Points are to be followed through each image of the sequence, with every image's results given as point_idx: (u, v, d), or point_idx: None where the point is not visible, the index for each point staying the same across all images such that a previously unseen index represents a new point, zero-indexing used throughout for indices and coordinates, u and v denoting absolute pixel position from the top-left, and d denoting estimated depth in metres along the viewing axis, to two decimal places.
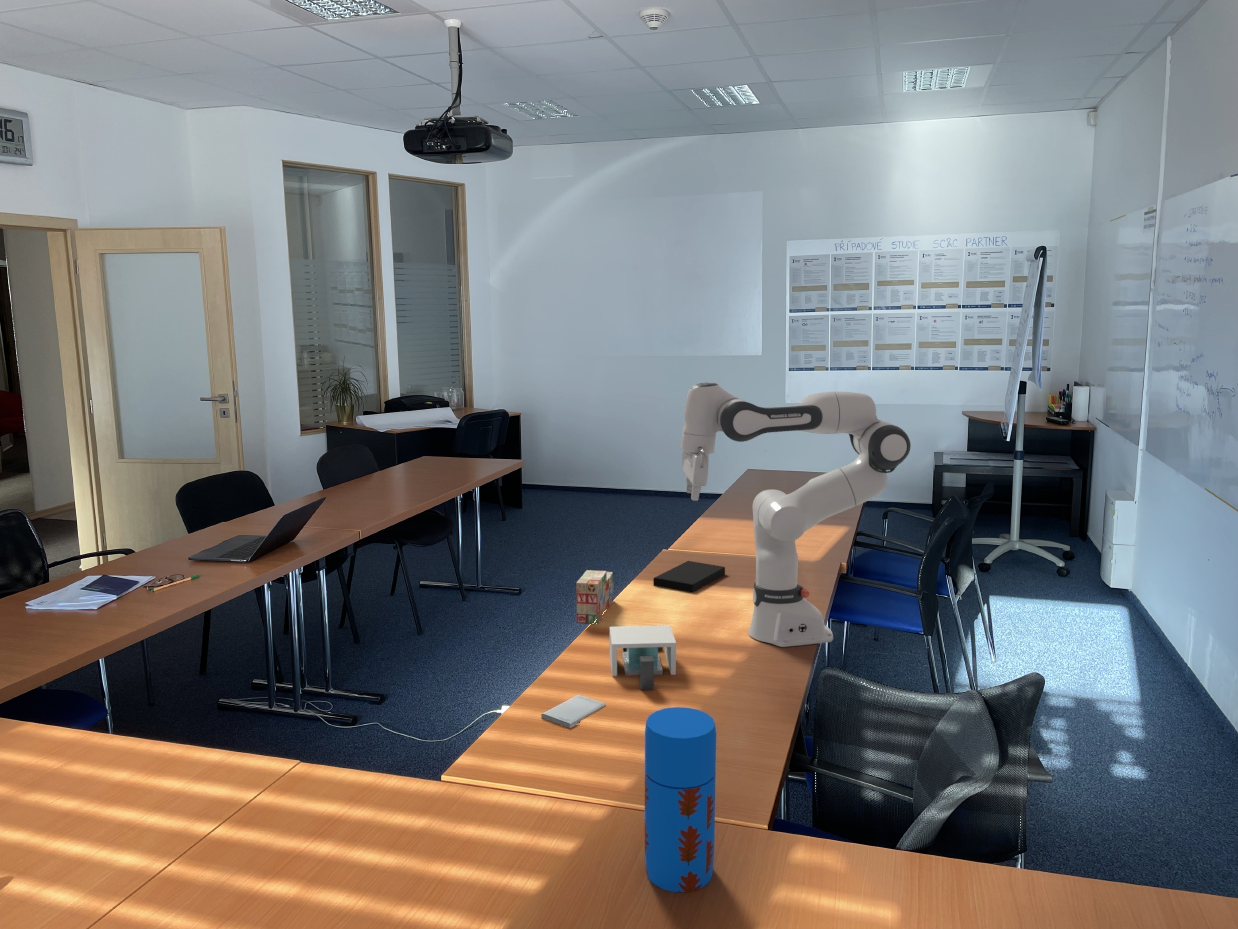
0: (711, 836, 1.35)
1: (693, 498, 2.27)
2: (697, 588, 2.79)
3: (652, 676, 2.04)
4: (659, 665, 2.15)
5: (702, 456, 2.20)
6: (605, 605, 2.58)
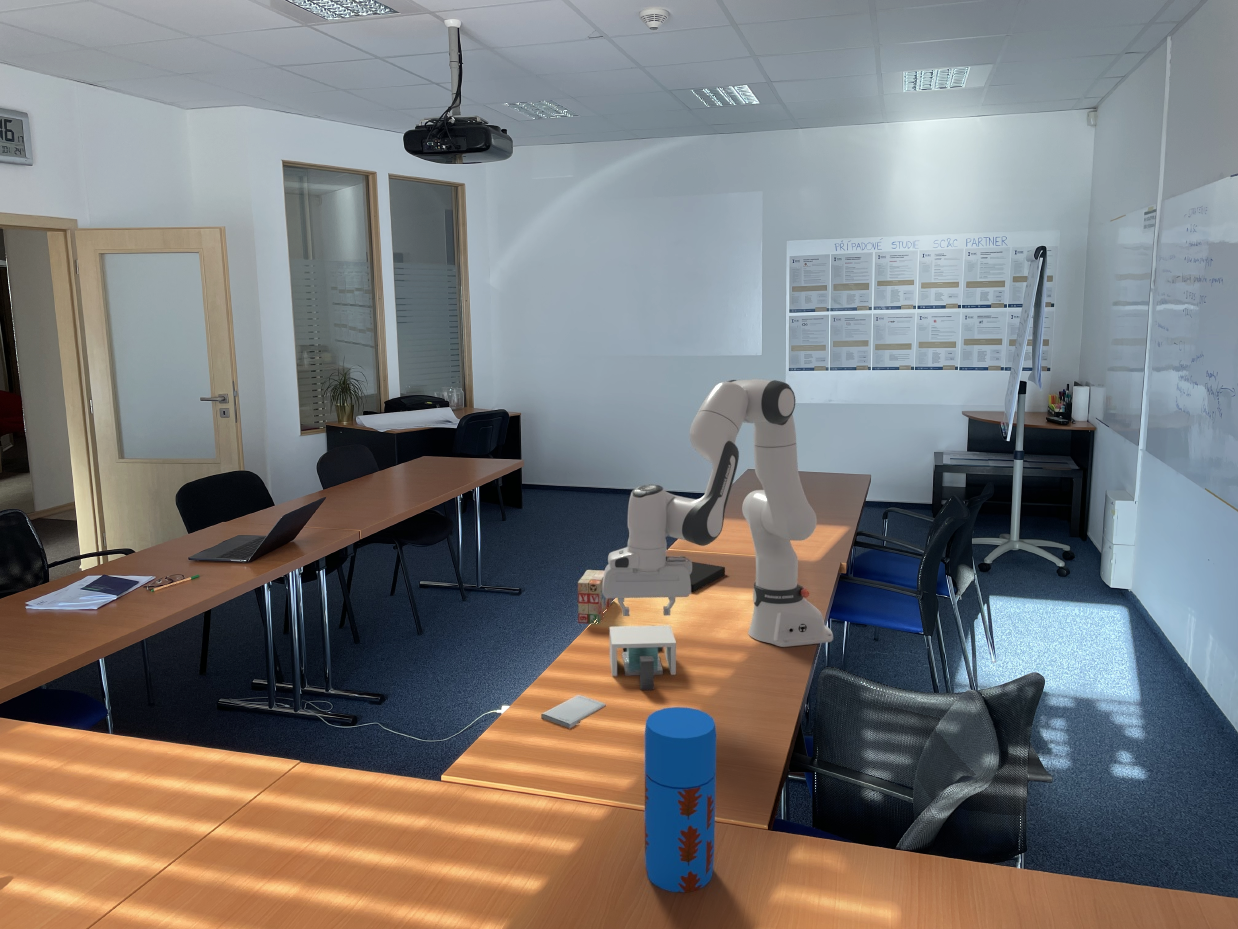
0: (711, 836, 1.35)
1: None
2: (697, 588, 2.79)
3: (652, 676, 2.04)
4: (659, 665, 2.15)
5: (691, 563, 2.01)
6: (606, 605, 2.58)
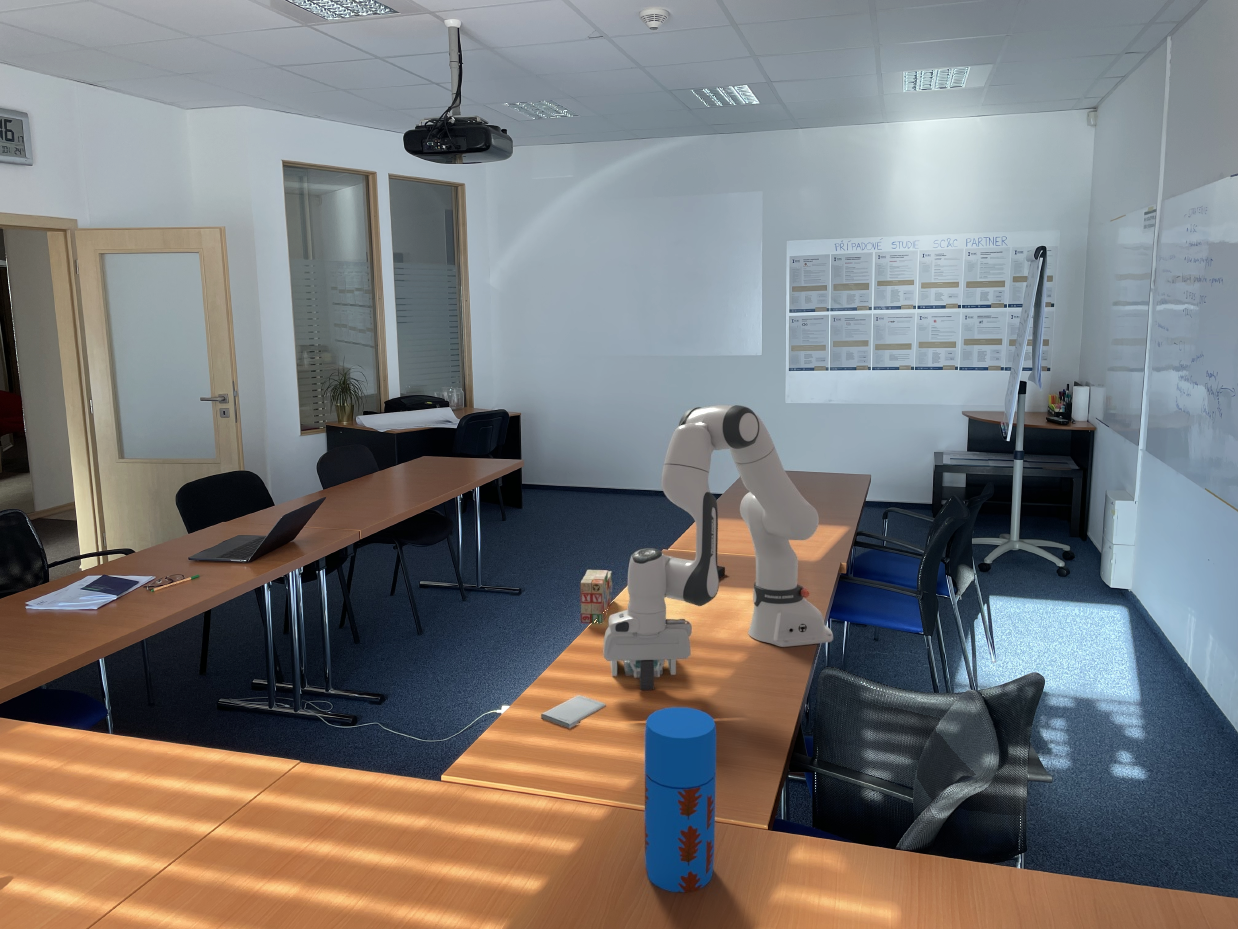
0: (711, 836, 1.35)
1: (659, 674, 2.05)
2: None
3: (652, 676, 2.04)
4: None
5: (690, 625, 2.03)
6: (607, 604, 2.59)
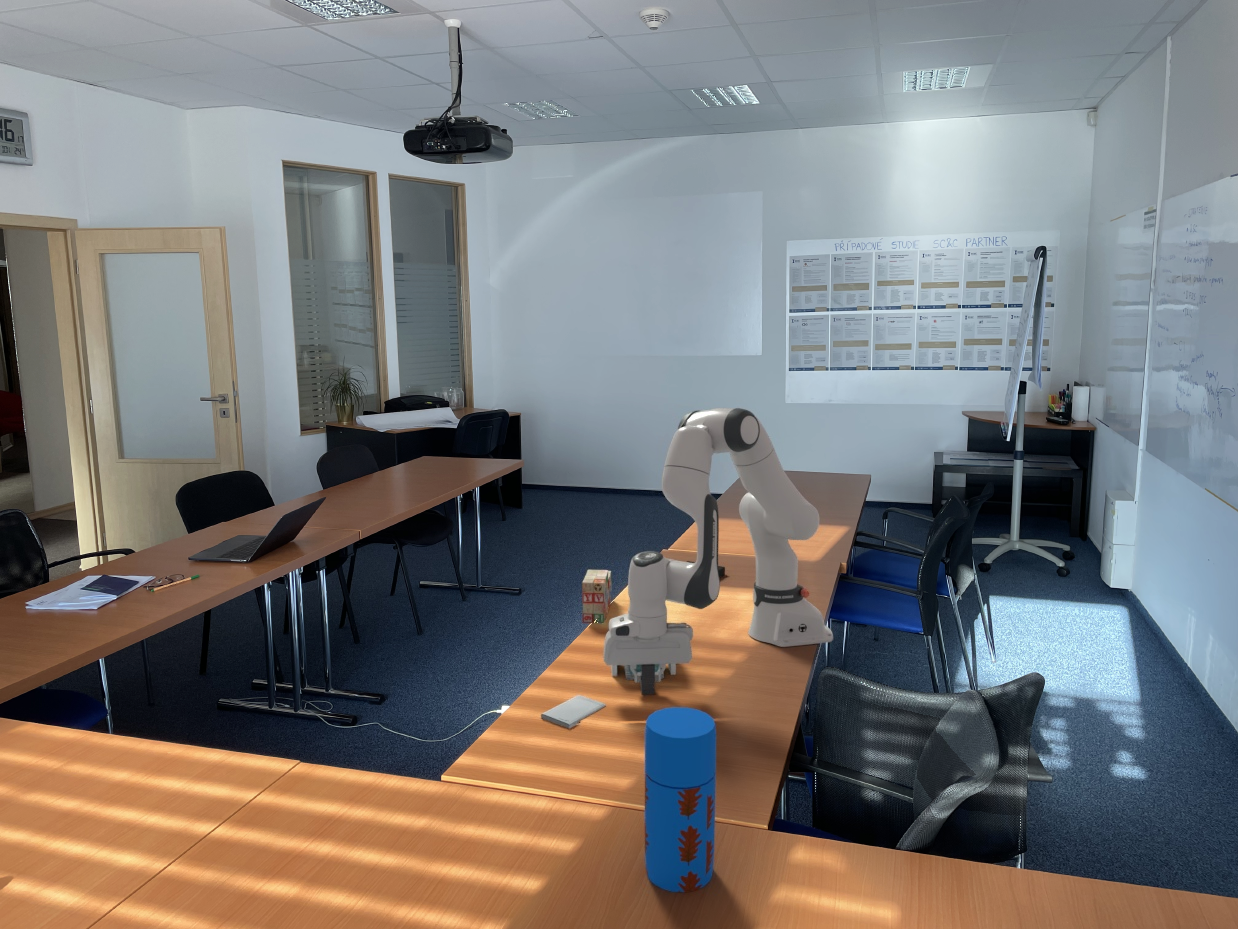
0: (711, 836, 1.35)
1: (660, 679, 2.02)
2: None
3: (653, 680, 2.01)
4: None
5: (691, 629, 2.01)
6: None
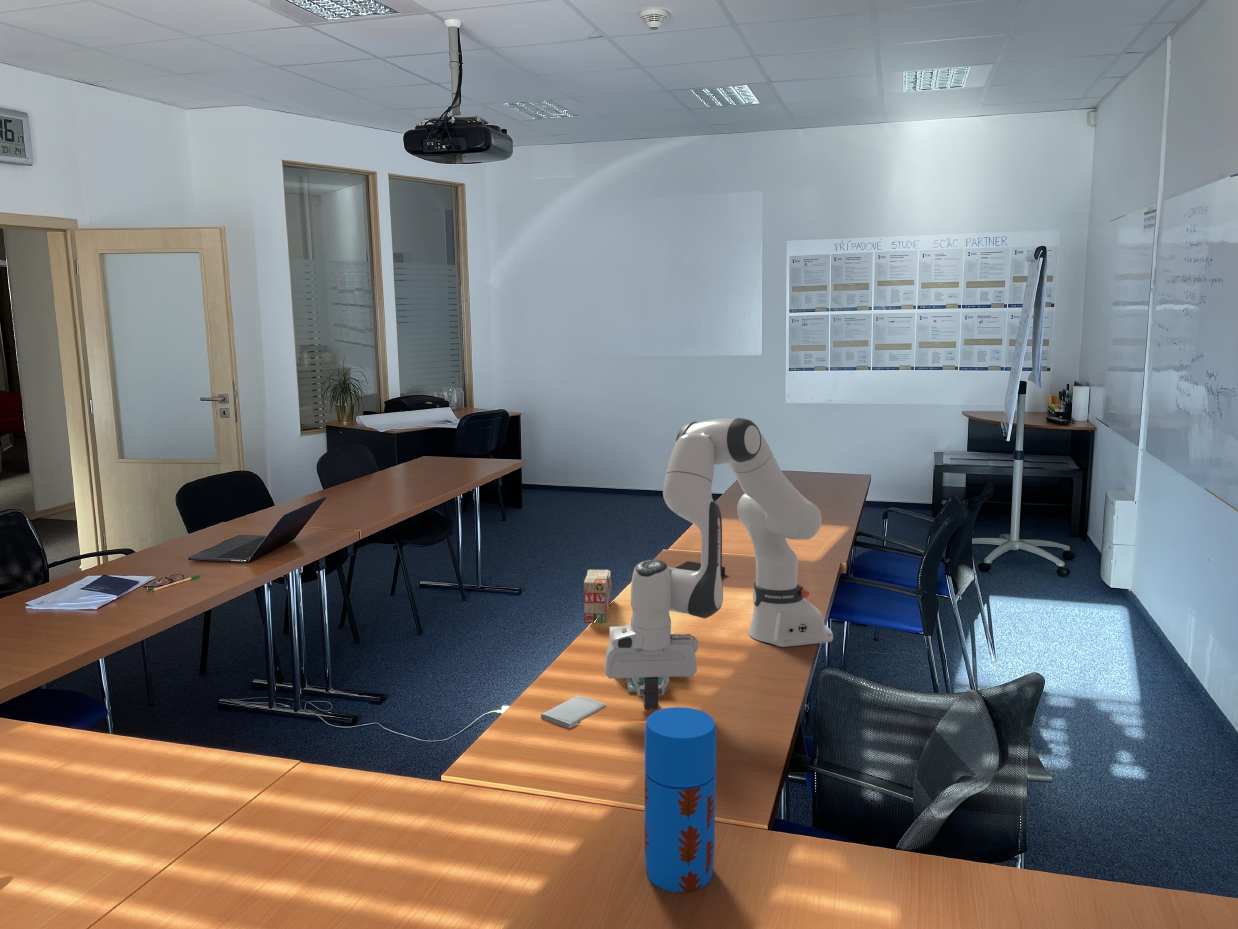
0: (711, 836, 1.35)
1: None
2: None
3: (657, 694, 1.94)
4: None
5: (696, 640, 1.94)
6: (608, 604, 2.59)
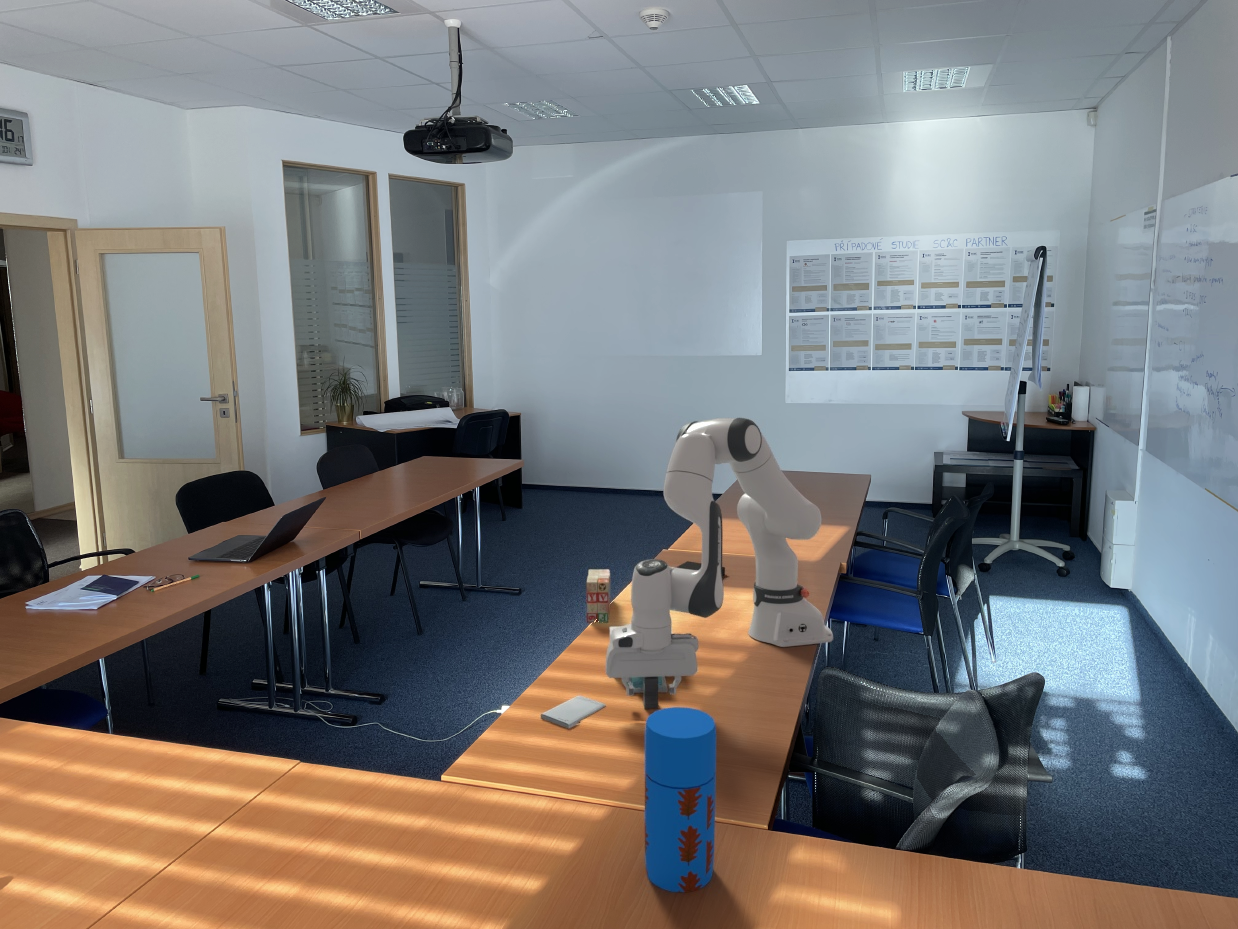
0: (711, 836, 1.35)
1: (675, 691, 1.95)
2: None
3: (657, 694, 1.94)
4: (663, 682, 2.05)
5: (697, 640, 1.94)
6: None
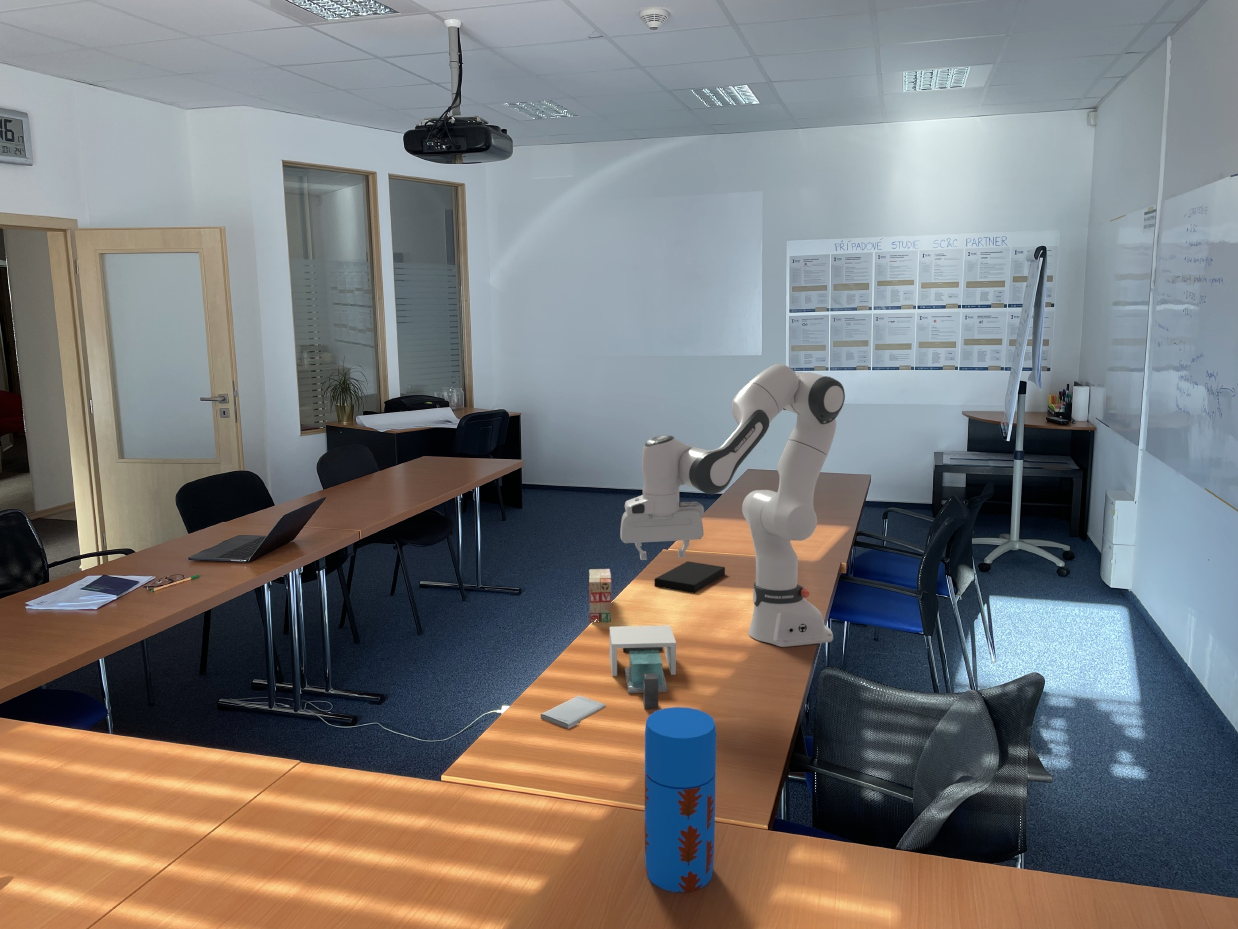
0: (711, 836, 1.35)
1: (684, 555, 2.16)
2: (698, 588, 2.79)
3: (657, 694, 1.94)
4: (663, 682, 2.05)
5: (702, 507, 2.14)
6: None
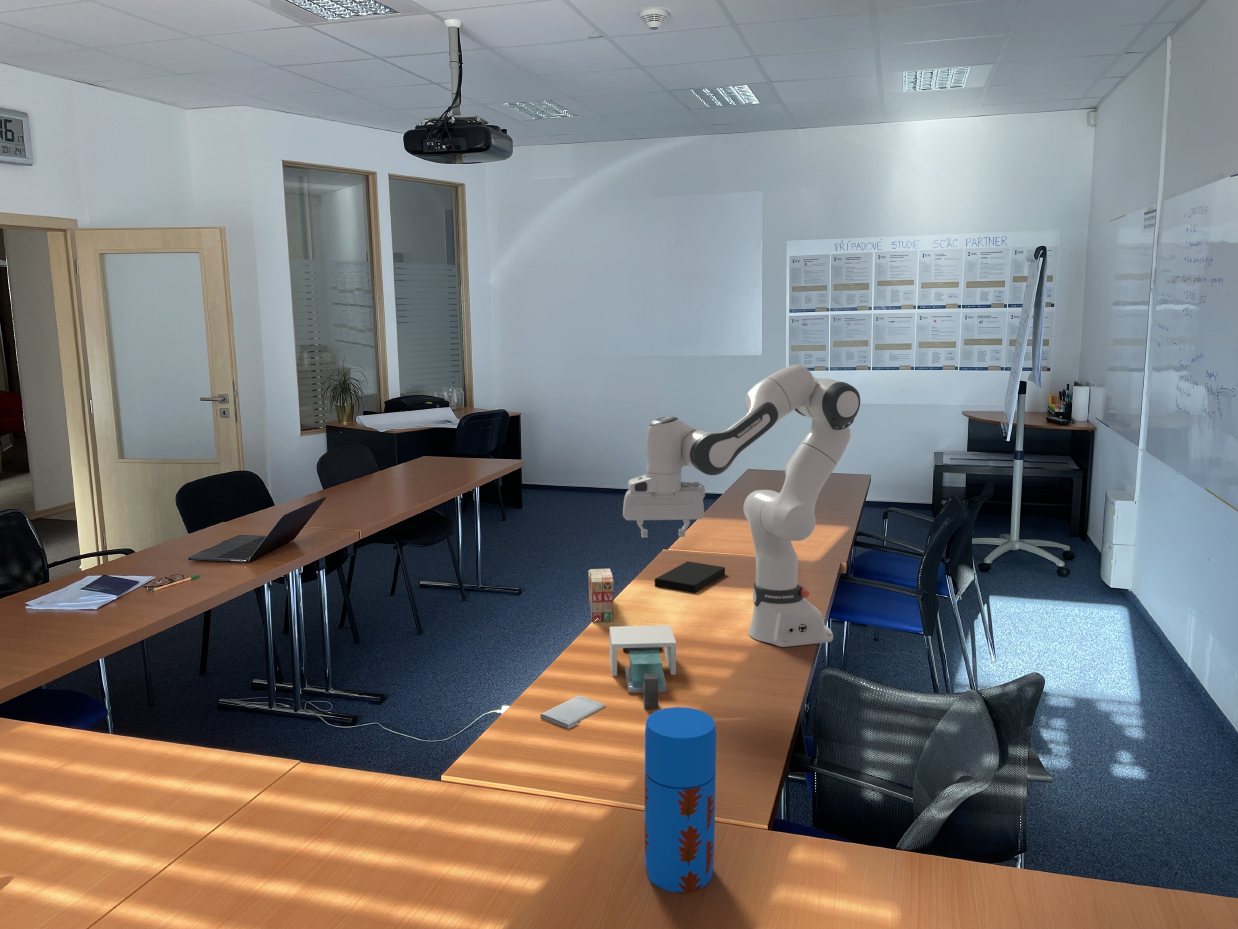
0: (711, 836, 1.35)
1: None
2: (699, 589, 2.79)
3: (657, 694, 1.94)
4: (663, 682, 2.05)
5: (704, 488, 2.20)
6: None
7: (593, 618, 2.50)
